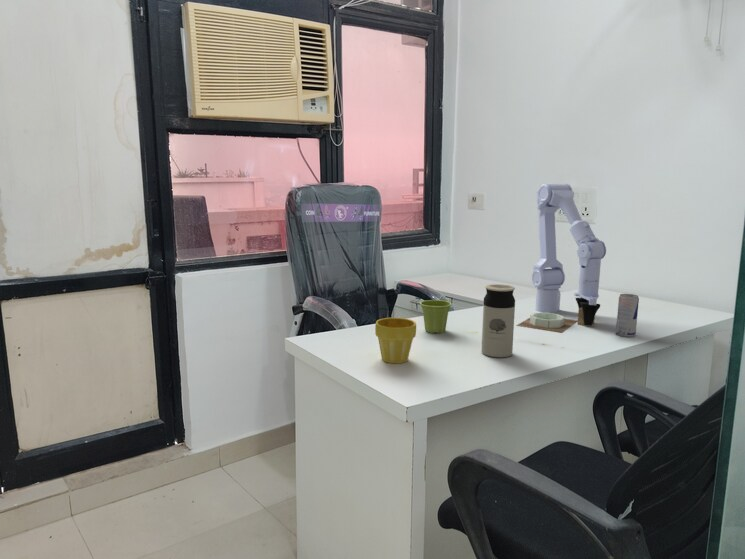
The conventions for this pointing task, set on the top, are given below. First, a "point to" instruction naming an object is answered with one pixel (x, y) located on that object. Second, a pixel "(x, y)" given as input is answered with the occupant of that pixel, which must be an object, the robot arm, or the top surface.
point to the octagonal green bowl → (547, 320)
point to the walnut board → (567, 324)
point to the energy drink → (627, 315)
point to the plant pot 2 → (435, 315)
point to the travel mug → (498, 320)
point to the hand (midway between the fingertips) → (585, 322)
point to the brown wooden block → (580, 318)
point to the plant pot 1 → (395, 338)
